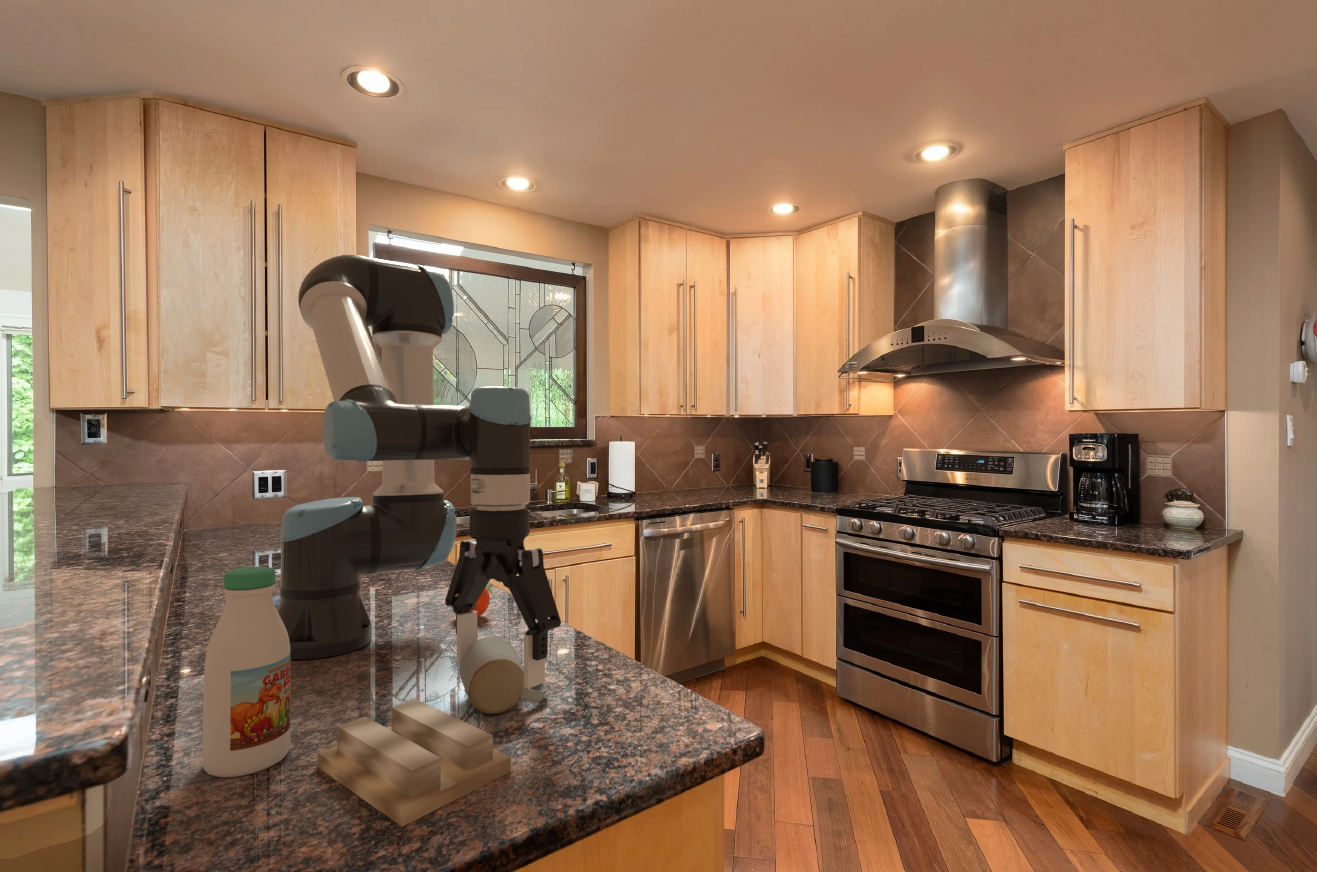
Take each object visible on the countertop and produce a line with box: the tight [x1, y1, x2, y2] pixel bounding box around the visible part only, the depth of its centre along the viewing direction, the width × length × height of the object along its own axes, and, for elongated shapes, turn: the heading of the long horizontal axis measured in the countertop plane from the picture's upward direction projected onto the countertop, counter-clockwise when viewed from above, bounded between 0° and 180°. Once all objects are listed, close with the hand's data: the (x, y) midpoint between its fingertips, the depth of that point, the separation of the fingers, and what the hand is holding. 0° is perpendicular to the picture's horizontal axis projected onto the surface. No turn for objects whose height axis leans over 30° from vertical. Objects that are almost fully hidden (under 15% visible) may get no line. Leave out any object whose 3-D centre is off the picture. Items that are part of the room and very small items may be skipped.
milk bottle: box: [202, 566, 292, 778], centre depth 68 cm, size 8×8×20 cm
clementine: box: [456, 585, 494, 618], centre depth 121 cm, size 8×7×7 cm
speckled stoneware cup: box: [459, 636, 548, 715], centre depth 83 cm, size 11×8×8 cm
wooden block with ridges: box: [317, 699, 512, 828], centre depth 66 cm, size 16×12×4 cm
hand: (498, 672), depth 83 cm, fingers open, 13 cm apart
